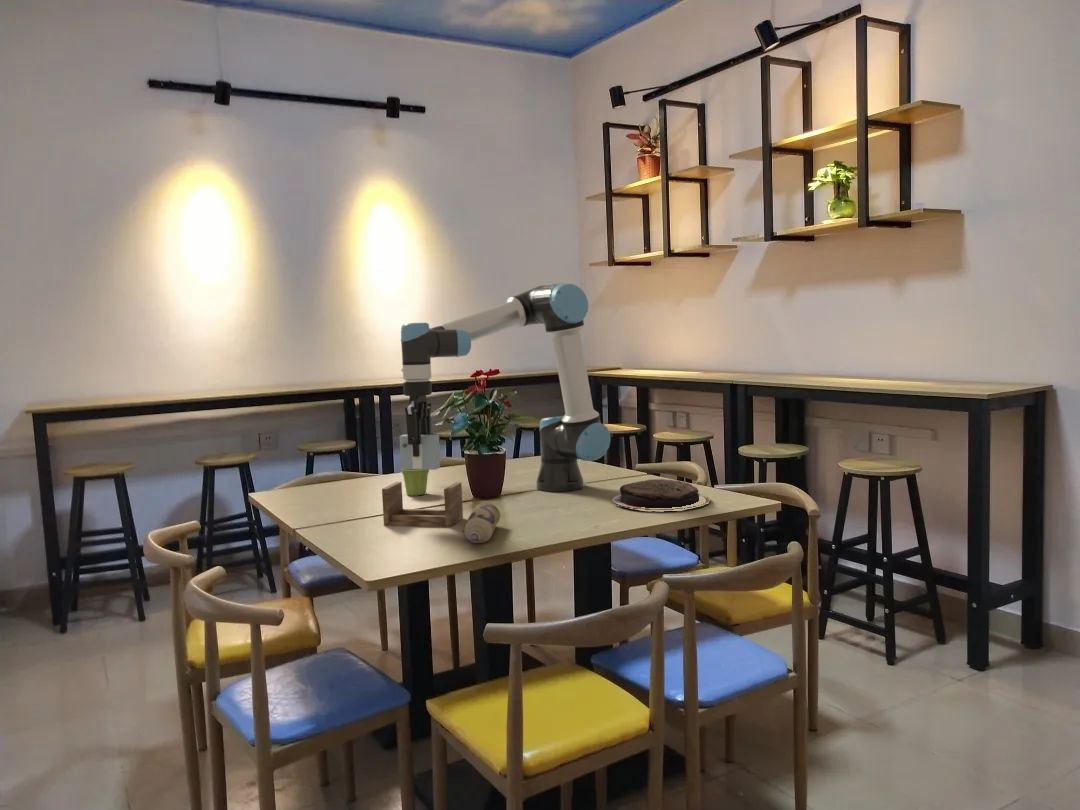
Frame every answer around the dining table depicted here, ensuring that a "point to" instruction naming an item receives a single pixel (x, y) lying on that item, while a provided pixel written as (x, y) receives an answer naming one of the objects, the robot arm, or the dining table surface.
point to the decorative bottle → (481, 523)
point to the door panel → (429, 452)
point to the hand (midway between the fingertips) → (420, 466)
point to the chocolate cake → (658, 495)
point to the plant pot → (415, 481)
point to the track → (421, 517)
